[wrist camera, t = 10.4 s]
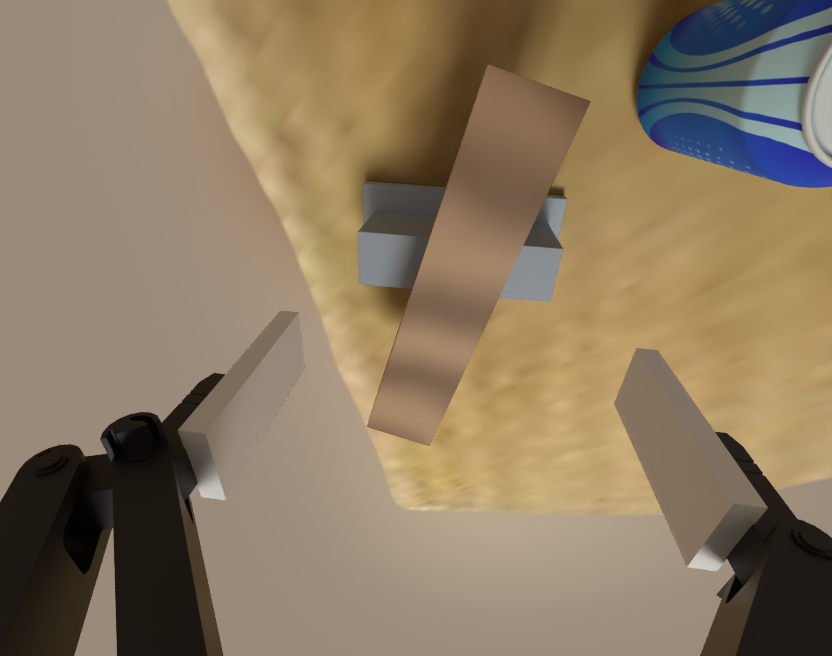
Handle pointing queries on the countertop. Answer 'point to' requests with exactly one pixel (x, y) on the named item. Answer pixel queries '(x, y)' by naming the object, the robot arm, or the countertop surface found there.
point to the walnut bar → (474, 244)
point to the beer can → (746, 89)
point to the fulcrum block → (410, 229)
